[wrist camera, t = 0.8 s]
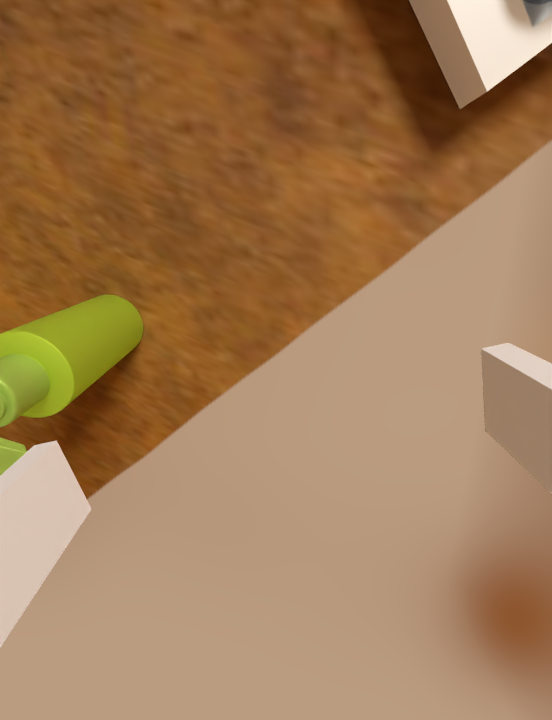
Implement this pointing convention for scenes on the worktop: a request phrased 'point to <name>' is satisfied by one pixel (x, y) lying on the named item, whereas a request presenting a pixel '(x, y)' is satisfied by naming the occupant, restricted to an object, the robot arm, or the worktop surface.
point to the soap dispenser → (61, 360)
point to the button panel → (482, 40)
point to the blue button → (538, 1)
